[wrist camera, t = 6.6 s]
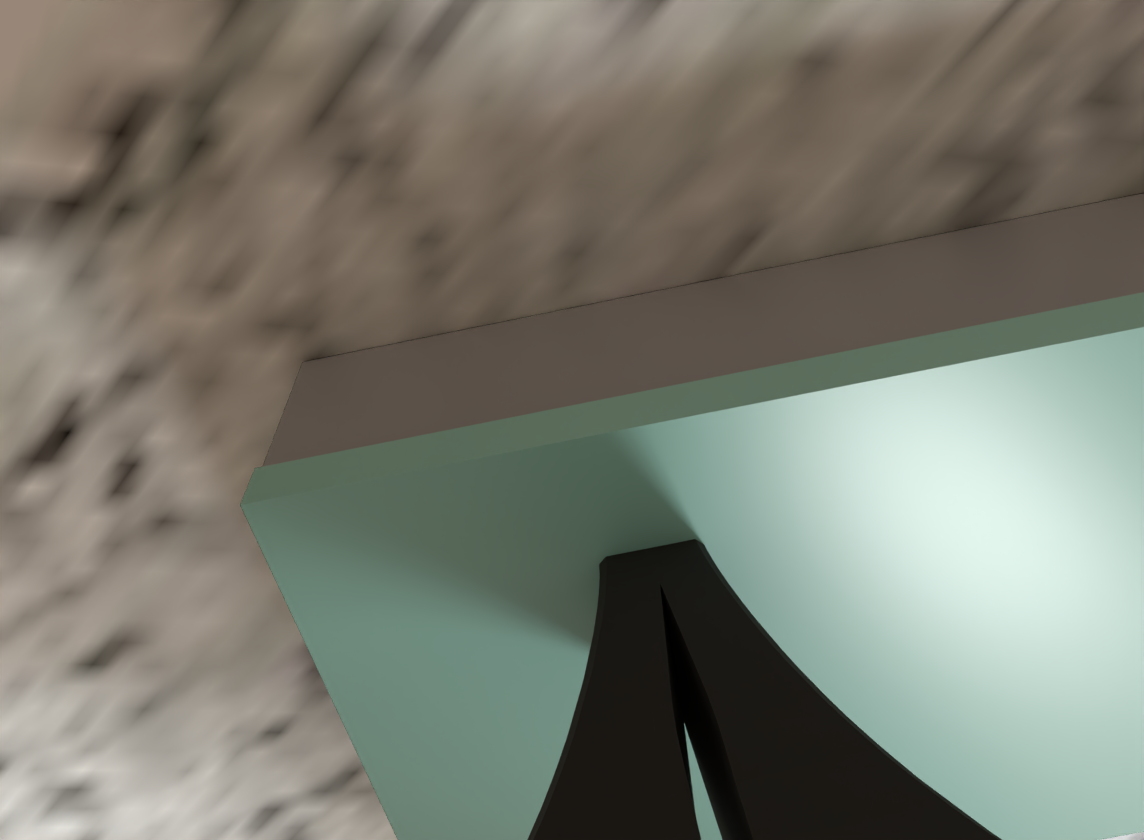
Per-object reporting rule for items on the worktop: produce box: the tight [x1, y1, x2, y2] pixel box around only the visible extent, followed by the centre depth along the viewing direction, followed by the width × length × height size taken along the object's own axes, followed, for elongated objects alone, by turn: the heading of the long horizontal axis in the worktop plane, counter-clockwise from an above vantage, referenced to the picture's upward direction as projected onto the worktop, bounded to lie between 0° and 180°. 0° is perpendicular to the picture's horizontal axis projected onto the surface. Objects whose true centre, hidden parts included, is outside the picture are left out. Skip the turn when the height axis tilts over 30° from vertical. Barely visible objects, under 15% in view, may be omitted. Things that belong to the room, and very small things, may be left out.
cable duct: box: [263, 193, 1144, 466], centre depth 16 cm, size 11×22×4 cm, turn 100°
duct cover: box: [240, 292, 1144, 840], centre depth 14 cm, size 10×22×1 cm, turn 100°
